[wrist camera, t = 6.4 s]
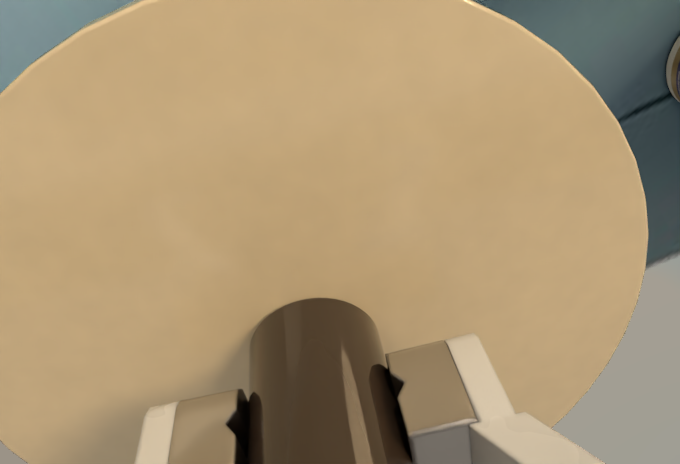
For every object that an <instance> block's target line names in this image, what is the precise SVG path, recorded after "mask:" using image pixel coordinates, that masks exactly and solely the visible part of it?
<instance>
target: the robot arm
mask: <svg viewBox="0 0 680 464" xmlns="http://www.w3.org/2000/svg"><path fill="white" fill-rule="evenodd" d="M385 358H386V363H387V369H388V373H389V376H390V380H391V384H392V388H393V392H394V395H395V399H396V402H397V403H398V405H399V409H400V414H401V420H402V425H403V429H404V432H405V436H406V440H407V443H408V447H409V450H410V454H411V458H412V461H413V464H606V463H604V462H603V461H601V460H600V459H598V458H596V457H595V456H593V455H592V454H590V453H589V452H587V451H586V450H584V449H582V448H581V447H580V446H578V445H576V444H575V443H573V442H572V441H570V440H569V439H567V438H566V437H564V436H562V435H561V434H559V433H558V432H556V431H555V430H553V429H552V428H550V427H549V426H547V425H546V424H544V423H543V422H541V421H539V420H538V419H536V418H535V417H533V416H532V415H530V414H529V413H527V412H521V413H516V412H515V410H514V408H513V406H512V404H511V402H510V400H509V398H508V396H507V394H506V392H505V390H504V388H503V386H502V384H501V382H500V380H499V378H498V376H497V374H496V372H495V370H494V368H493V366H492V364H491V362H490V360H489V358H488V356H487V354H486V351H485V349H484V347H483V345H482V343H481V341H480V339H479V337H478V336H477V335H476V334H474V333H471V334H467V335H462V336H458V337H454V338H450V339H445V340H444V341H443V340H440V341H436V342H432V343H428V344H424V345H420V346H416V347H412V348H407V349H403V350H399V351H395V352H391V353H387V354H385ZM134 464H248V399H247V397H246V395H245V393H244V391H243V389H235V390H230V391H225V392H220V393H215V394H210V395H205V396H200V397H196V398H191V399H186V400H181V401H178V402H173V403H169V404H164V405H159V406H154V407H150V408H149V410H148V411H147V413H146V415H145V416H144V419H143V424H142V429H141V434H140V438H139V443H138V448H137V453H136V457H135V462H134Z"/></svg>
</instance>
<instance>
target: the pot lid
mask: <svg viewBox="0 0 680 464" xmlns="http://www.w3.org/2000/svg"><path fill="white" fill-rule="evenodd" d="M647 245H648V222H647V209H646V197H645V193H644V190H643V186H642V182H641V178H640V174H639V170H638V166H637V163H636V159H635V157H634V154H633V152H632V150H631V148H630V146H629V144H628V141H627V139H626V137H625V135H624V133H623V131H622V129H621V126H620V124H619V122H618V120H617V119H616V117H615V116H614V115H613V113H612V112H611V110H610V109H609V108H608V106H607V105H606V103H605V102H604V100H603V99H602V98H601V96H600V95H599V93H598V92H597V91H596V89H595V88H594V86H593V85H592V84H591V83H590V82H589V81H588V80H587V79H586V78H585V77H584V76H583V75H582V74H581V73H580V72H579V71H578V70H577V69H576V68H575V67H574V66H573V65H572V64H571V63H570V62H569V61H568V60H567V59H566V58H565V57H564V56H563V55H562V54H561V53H560V52H559V51H557V50H556V49H554V48H553V47H552V46H550V45H549V44H547V43H546V42H544V41H543V40H542V39H540V38H539V37H537V36H536V35H534V34H533V33H531V32H530V31H529V30H527V29H526V28H524V27H523V26H521V25H520V24H519V23H517V22H516V21H514V20H512V19H510V18H509V17H507V16H505V15H503V14H501V13H499V12H497V11H494V10H492V9H490V8H488V7H486V6H484V5H482V4H480V3H478V2H476V1H473V0H135V1H133V2H131V3H129V4H127V5H125V6H122V7H120V8H118V9H116V10H114V11H112V12H110V13H108V14H106V15H104V16H102V17H100V18H97V19H95V20H93V21H91V22H89V23H88V24H86V25H85V26H83V27H82V28H80V29H79V30H78V31H76V32H75V33H73V34H72V35H70V36H69V37H67V38H66V39H65V40H63V41H62V42H60V43H59V44H57V45H56V46H54V47H53V48H51V49H50V50H49V51H47V52H46V53H44V54H43V55H41V56H40V57H39V58H37V59H36V60H35V61H34V62H33V63H31V64H30V65H29V66H28V67H27V68H26V69H25V70H24V71H23V72H22V73H21V74H20V75H19V76H18V77H17V78H16V79H15V80H14V81H13V82H12V83H11V84H10V85H9V86H7V87H6V88H5V89H4V90H3V91H2V92H1V93H0V441H1V442H2V443H3V444H4V445H5V446H6V447H7V448H8V449H9V450H11V451H12V452H13V453H15V454H16V455H17V456H19V457H20V458H21V459H22V460H24V461H25V462H26V463H28V464H134V462H135V457H136V453H137V448H138V443H139V438H140V434H141V429H142V424H143V419H144V416H145V415H146V413H147V411H148V410H149V408H150V407H154V406H159V405H164V404H169V403H173V402H178V401H181V400H186V399H191V398H196V397H200V396H205V395H210V394H215V393H220V392H225V391H230V390H235V389H243V391H244V393H245V395H246V397H247V399H248V464H413V461H412V458H411V454H410V450H409V447H408V443H407V440H406V436H405V432H404V429H403V425H402V420H401V414H400V409H399V405H398V403H397V402H396V399H395V395H394V392H393V388H392V384H391V380H390V376H389V373H388V369H387V363H386V358H385V354H387V353H391V352H395V351H399V350H403V349H407V348H412V347H416V346H420V345H424V344H428V343H432V342H436V341H440V340H443V341H444V340H445V339H450V338H454V337H458V336H462V335H467V334H471V333H474V334H476V335H477V336H478V337H479V339H480V341H481V343H482V345H483V347H484V349H485V351H486V354H487V356H488V358H489V360H490V362H491V364H492V366H493V368H494V370H495V372H496V374H497V376H498V378H499V380H500V382H501V384H502V386H503V388H504V390H505V392H506V394H507V396H508V398H509V400H510V402H511V404H512V406H513V408H514V410H515V412H516V413H521V412H527V413H529V414H530V415H532V416H533V417H535V418H536V419H538V420H539V421H541V422H543V423H544V424H546V425H547V426H549V427H550V428H552V427H553V426H554V425H555V424H557V423H558V422H559V421H560V420H561V419H562V418H563V417H564V416H565V415H567V413H568V412H569V411H570V410H571V409H572V408H573V407H574V406H575V405H576V403H577V402H578V401H579V400H580V399H581V398H582V397H583V396H584V395H585V394H586V392H587V391H588V390H589V389H590V388H591V386H592V385H593V383H594V382H595V381H596V379H597V378H598V376H599V375H600V374H601V372H602V371H603V370H604V368H605V367H606V365H607V364H608V363H609V361H610V359H611V357H612V355H613V354H614V352H615V350H616V348H617V347H618V345H619V343H620V341H621V339H622V338H623V336H624V334H625V332H626V329H627V327H628V324H629V322H630V319H631V317H632V314H633V312H634V309H635V307H636V304H637V301H638V297H639V293H640V289H641V285H642V281H643V277H644V273H645V268H646V257H647Z"/></svg>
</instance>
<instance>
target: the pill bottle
mask: <svg viewBox="0 0 680 464" xmlns="http://www.w3.org/2000/svg"><path fill="white" fill-rule="evenodd" d="M666 78H667V84H668V87H669V90H670V92H671V93H672V95H673V96H674V97H675V99H676V100H678V101H679V102H680V36H679V37H678V39H677V40H676V42H675V44H674V46H673V48H672V50H671V52H670V55H669V58H668V61H667V67H666Z"/></svg>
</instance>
